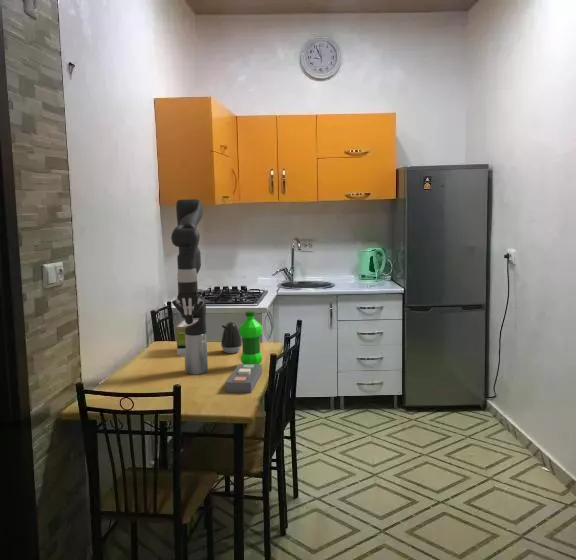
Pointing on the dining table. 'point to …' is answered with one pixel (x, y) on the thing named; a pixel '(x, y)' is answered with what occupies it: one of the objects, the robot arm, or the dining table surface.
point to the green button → (249, 366)
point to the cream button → (244, 372)
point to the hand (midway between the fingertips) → (189, 324)
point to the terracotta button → (240, 379)
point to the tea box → (181, 337)
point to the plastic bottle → (251, 340)
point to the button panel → (241, 385)
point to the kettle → (231, 338)
